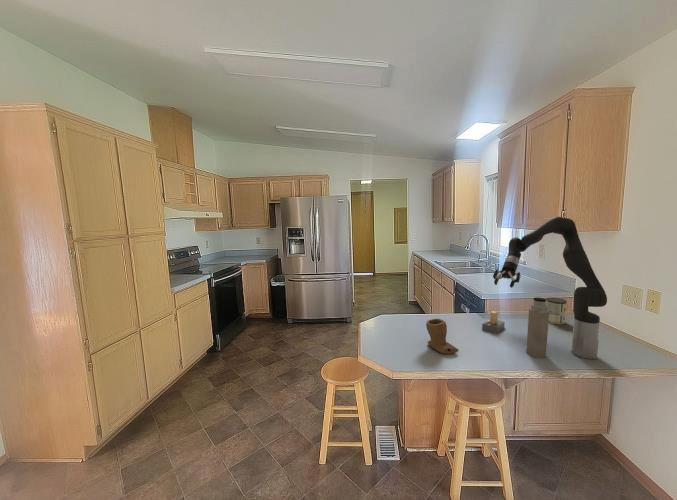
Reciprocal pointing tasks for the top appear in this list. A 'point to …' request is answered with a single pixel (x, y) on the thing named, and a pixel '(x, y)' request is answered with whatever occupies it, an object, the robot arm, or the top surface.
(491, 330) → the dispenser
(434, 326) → the brown boot-shaped pot
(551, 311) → the coffee can
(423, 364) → the top surface
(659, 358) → the top surface
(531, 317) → the thermos bottle
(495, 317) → the tall tan rectangular block
